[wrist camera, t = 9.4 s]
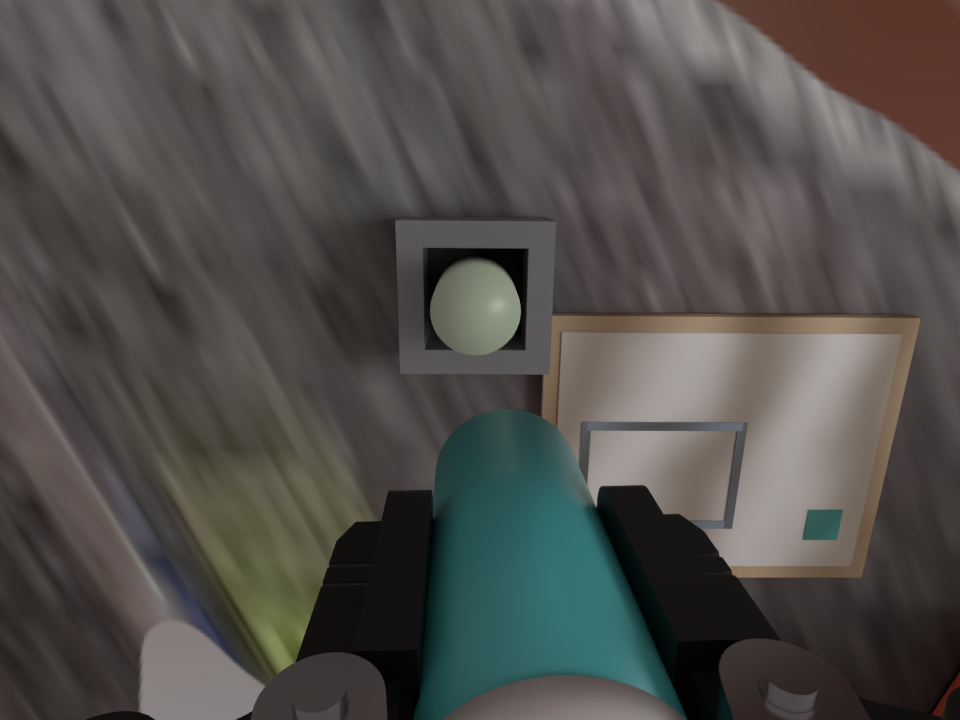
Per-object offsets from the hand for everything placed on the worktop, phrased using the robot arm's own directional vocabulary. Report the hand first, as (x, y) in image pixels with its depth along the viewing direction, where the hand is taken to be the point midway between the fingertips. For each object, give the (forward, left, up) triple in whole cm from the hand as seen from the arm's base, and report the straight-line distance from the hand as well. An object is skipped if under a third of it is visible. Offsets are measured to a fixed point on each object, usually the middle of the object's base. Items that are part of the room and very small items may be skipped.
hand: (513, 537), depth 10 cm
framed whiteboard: (-10, +6, -16) cm, 20 cm away
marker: (0, 0, -4) cm, 4 cm away
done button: (+1, -1, -15) cm, 15 cm away
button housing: (+1, -1, -16) cm, 16 cm away
